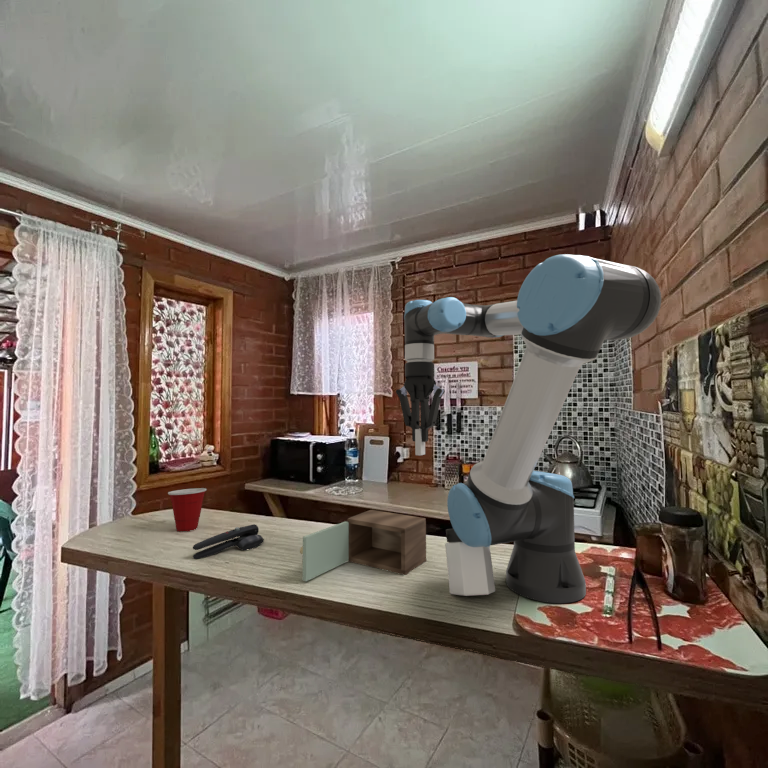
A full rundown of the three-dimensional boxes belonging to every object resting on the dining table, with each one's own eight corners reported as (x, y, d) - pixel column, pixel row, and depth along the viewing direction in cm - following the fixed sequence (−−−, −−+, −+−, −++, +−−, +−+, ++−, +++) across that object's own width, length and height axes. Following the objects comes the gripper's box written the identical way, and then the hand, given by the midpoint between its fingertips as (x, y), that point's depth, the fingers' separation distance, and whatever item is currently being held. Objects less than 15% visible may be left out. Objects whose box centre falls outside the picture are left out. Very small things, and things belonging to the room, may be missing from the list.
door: (340, 558, 100) (340, 520, 100) (348, 560, 98) (348, 522, 99) (297, 578, 88) (297, 535, 89) (306, 581, 87) (306, 537, 87)
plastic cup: (200, 522, 134) (200, 484, 135) (210, 529, 126) (211, 489, 127) (163, 528, 128) (163, 489, 128) (171, 536, 119) (172, 494, 120)
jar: (460, 589, 87) (454, 529, 91) (499, 590, 83) (491, 527, 87) (444, 595, 80) (438, 529, 84) (485, 596, 76) (477, 527, 80)
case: (426, 560, 99) (425, 518, 100) (405, 575, 91) (404, 528, 91) (371, 548, 108) (370, 509, 109) (347, 560, 100) (347, 518, 100)
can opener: (254, 540, 116) (254, 520, 116) (266, 546, 111) (266, 525, 111) (187, 556, 104) (187, 533, 104) (196, 564, 99) (197, 540, 99)
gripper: (449, 361, 106) (450, 454, 105) (403, 364, 113) (404, 451, 112) (437, 359, 100) (438, 458, 99) (390, 362, 106) (390, 454, 105)
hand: (420, 454), depth 105 cm, fingers closed
